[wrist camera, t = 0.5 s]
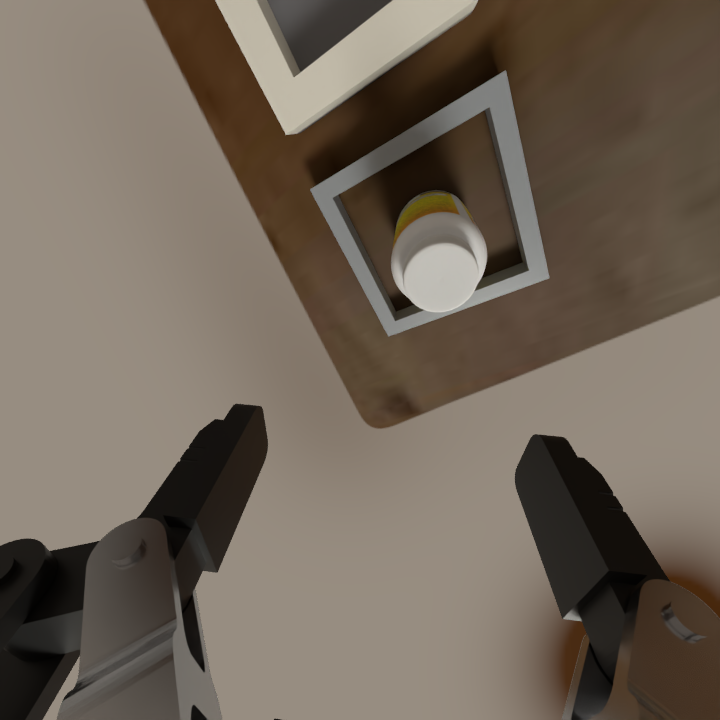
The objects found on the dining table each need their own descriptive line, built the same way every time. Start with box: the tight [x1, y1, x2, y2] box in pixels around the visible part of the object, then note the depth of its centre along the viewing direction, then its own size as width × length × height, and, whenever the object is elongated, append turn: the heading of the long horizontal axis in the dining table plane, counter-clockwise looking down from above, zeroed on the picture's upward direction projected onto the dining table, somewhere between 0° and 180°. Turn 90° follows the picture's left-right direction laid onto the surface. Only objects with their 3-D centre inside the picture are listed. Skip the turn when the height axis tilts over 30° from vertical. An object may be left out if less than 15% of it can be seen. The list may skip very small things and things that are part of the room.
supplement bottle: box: [391, 190, 487, 312], centre depth 21 cm, size 6×6×10 cm
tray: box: [310, 70, 549, 336], centre depth 25 cm, size 13×13×2 cm
